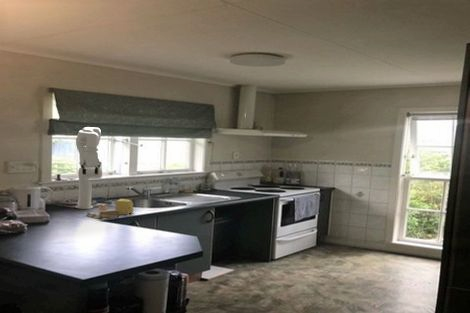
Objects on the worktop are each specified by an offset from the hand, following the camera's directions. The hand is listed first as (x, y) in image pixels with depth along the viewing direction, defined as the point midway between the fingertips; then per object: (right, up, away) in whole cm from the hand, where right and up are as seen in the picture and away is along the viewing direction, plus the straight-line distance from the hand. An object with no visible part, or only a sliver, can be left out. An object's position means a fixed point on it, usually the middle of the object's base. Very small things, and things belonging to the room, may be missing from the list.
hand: (90, 174), depth 325 cm
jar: (+11, -29, -7) cm, 32 cm away
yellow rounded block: (+22, -30, +10) cm, 38 cm away
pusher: (+13, -29, -9) cm, 33 cm away
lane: (+11, -29, -7) cm, 32 cm away
